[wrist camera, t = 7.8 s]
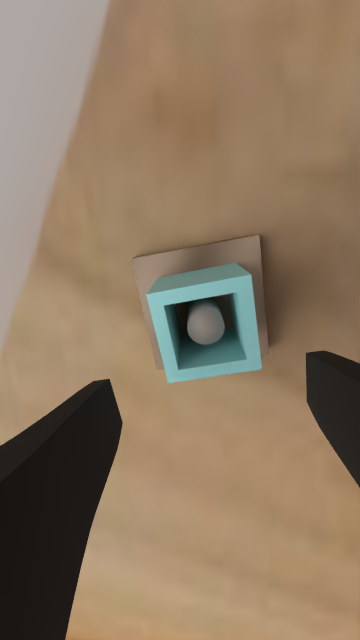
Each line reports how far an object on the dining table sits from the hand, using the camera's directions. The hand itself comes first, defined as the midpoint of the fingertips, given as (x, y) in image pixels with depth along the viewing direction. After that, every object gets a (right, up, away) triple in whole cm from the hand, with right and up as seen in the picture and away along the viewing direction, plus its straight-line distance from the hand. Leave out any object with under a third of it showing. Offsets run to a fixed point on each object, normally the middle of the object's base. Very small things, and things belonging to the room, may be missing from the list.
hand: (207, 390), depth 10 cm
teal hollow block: (0, +3, +8) cm, 8 cm away
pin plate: (+1, +4, +9) cm, 9 cm away
